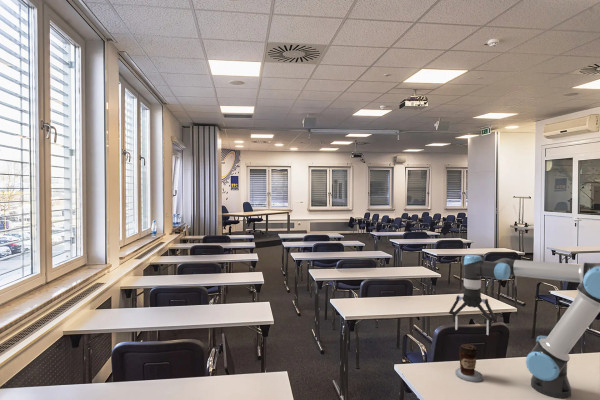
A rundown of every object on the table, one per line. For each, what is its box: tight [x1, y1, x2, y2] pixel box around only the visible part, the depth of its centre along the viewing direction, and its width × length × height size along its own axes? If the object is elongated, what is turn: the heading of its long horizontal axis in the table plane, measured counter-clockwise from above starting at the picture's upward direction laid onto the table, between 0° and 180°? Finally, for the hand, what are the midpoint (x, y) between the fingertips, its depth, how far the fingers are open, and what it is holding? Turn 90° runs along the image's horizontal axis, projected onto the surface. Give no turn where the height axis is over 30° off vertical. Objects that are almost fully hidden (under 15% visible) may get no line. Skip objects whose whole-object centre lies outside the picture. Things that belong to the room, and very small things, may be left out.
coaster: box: [454, 367, 484, 383], centre depth 176 cm, size 12×12×1 cm
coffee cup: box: [458, 343, 478, 376], centre depth 176 cm, size 9×8×13 cm
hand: (471, 331), depth 176 cm, fingers open, 13 cm apart
